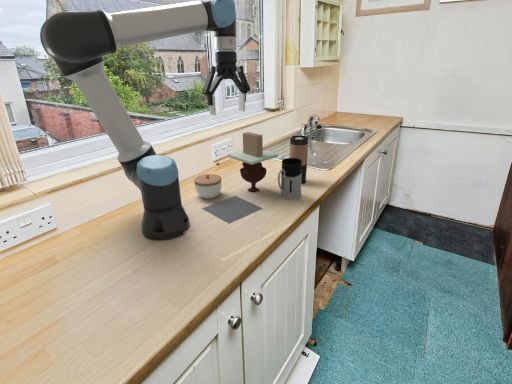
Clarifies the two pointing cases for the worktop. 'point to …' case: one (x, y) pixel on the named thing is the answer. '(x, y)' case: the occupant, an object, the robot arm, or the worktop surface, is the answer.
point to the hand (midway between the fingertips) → (228, 112)
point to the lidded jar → (208, 185)
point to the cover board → (251, 158)
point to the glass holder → (290, 179)
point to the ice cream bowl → (253, 174)
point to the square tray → (232, 209)
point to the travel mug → (300, 152)
